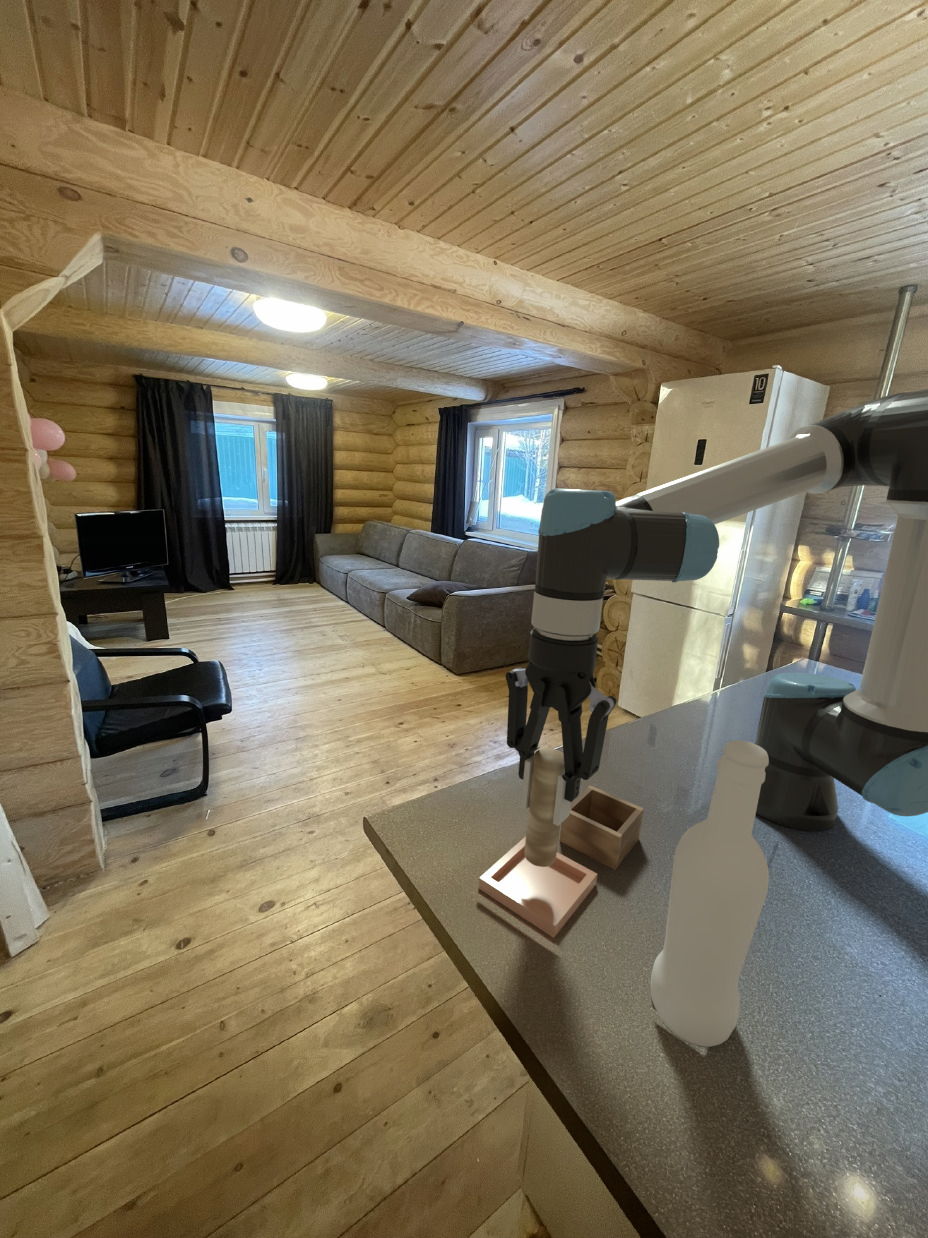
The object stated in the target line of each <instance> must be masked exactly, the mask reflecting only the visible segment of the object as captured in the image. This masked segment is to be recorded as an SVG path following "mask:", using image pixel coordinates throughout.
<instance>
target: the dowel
mask: <svg viewBox="0 0 928 1238" xmlns="http://www.w3.org/2000/svg"><path fill="white" fill-rule="evenodd" d="M564 771H565V768H564V754H563V752H562V751H561V750H558V749H553V748H539V749H538V750H536V751H535V753H534V763H533V773H532V783H531V793H530V802H529V807H528V813H527V822H526V823H527V824H526V833H525V834H526V835H525V836H526V841H525V851H524V855H525V858H526V859H527V860H528V861H529V862H530V863H531V864H533V865H536V866H539V867H547V866H550V865H552V864H553V863H554V862H555V860H556V854H557V852H558V844H559V843H558V842H559V838H560V830H561V824H560V825H559V826H557V825H555V824H553V817H554V808H555V800H556V791H557V782H558V775H559V774H561V773H562V772H564Z"/></svg>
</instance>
